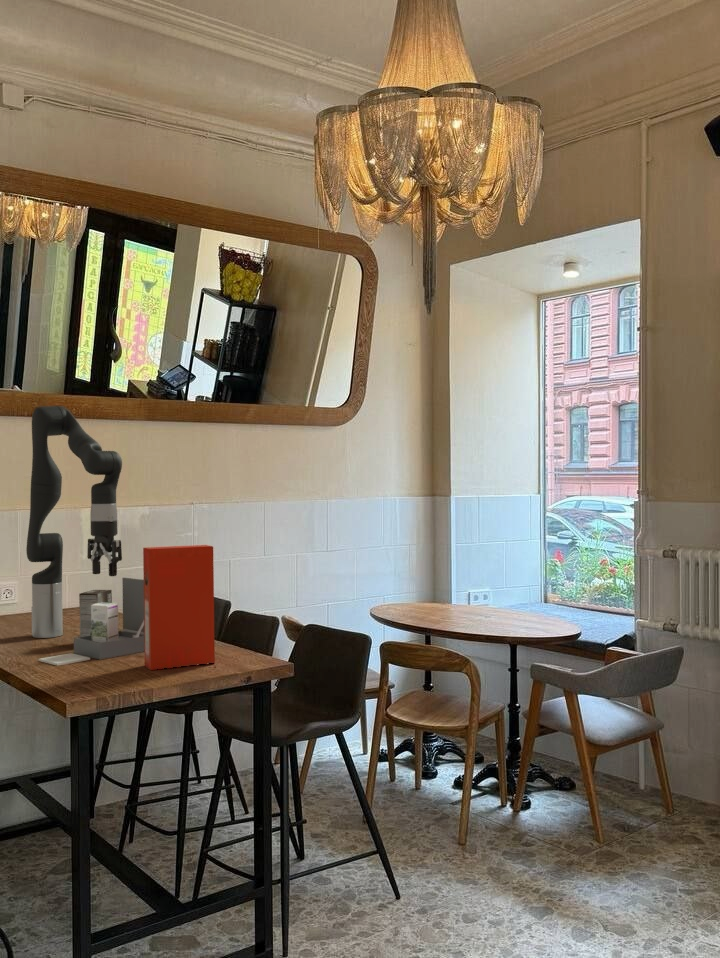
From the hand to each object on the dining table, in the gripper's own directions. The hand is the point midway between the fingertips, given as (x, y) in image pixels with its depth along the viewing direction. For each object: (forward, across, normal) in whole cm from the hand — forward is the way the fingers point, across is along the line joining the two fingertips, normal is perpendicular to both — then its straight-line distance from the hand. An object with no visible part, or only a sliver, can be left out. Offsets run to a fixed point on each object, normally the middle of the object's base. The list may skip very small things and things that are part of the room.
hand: (104, 575), depth 258 cm
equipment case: (+23, 0, +2) cm, 23 cm away
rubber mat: (+23, 0, -13) cm, 26 cm away
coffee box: (+23, -16, +7) cm, 29 cm away
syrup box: (+23, 0, 0) cm, 23 cm away
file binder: (+23, +30, +4) cm, 38 cm away
